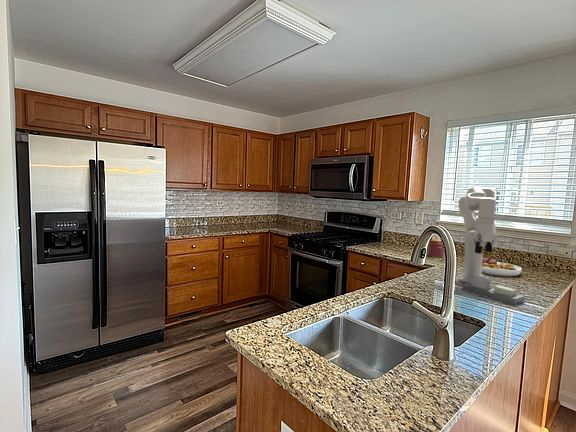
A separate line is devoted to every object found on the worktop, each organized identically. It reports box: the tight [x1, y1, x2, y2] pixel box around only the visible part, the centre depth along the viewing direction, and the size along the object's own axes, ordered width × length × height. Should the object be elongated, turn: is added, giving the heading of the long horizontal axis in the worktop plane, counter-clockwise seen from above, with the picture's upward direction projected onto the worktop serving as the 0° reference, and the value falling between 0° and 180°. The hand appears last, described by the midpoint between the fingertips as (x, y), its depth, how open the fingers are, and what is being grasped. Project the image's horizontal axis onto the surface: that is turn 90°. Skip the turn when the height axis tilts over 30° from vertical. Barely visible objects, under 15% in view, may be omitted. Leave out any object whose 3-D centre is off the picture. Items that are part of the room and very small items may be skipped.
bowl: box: [481, 257, 523, 277], centre depth 220 cm, size 30×30×8 cm
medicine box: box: [471, 275, 491, 290], centre depth 171 cm, size 8×4×9 cm, turn 30°
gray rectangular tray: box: [462, 283, 526, 306], centre depth 166 cm, size 10×26×3 cm, turn 29°
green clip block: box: [493, 284, 517, 297], centre depth 160 cm, size 4×8×6 cm, turn 30°
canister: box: [427, 235, 445, 258], centre depth 270 cm, size 13×13×18 cm
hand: (483, 252), depth 169 cm, fingers open, 9 cm apart
